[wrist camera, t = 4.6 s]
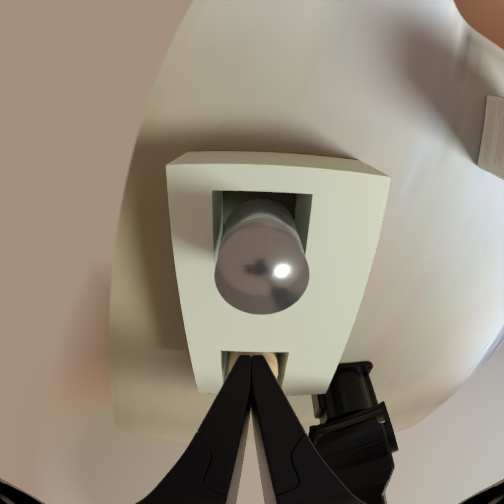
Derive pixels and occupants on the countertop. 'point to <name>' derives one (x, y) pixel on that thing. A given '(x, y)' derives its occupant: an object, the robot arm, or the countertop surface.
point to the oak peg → (269, 356)
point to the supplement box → (493, 137)
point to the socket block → (315, 249)
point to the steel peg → (261, 259)
